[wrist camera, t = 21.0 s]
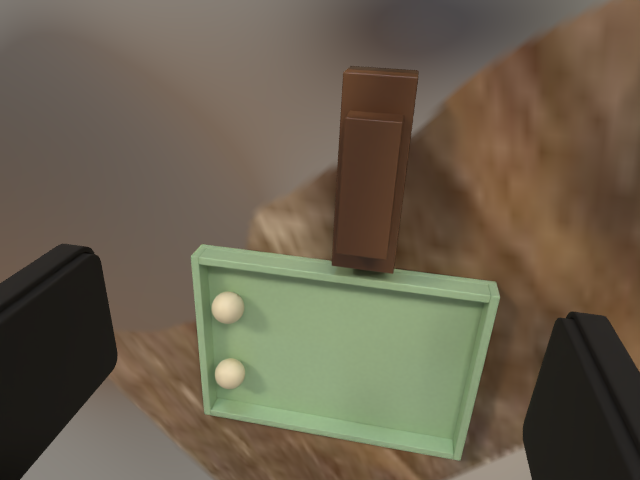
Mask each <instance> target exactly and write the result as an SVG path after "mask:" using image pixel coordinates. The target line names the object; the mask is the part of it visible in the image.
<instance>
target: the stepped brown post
mask: <svg viewBox="0 0 640 480" xmlns="http://www.w3.org/2000/svg"><path fill="white" fill-rule="evenodd" d="M417 83H418V71H417V70H402V69H389V68H372V67H359V66H350V68H348V69H347V70H346V71H345V72H344V73H343V86H342V102H341V120H340V136H339V137H340V138H339V151H338V168H337V184H336V200H335V217H334V233H333V249H332V266H337V267H344V268H352V269H360V270H368V271H375V272H383V273H391V274H393V273H394V265H395V257H396V249H397V241H398V233H399V225H400V218H401V210H402V202H403V194H404V186H405V178H406V170H407V162H408V154H409V147H410V139H411V131H412V123H413V115H414V107H415V99H416V91H417Z"/></svg>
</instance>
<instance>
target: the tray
mask: <svg viewBox="0 0 640 480" xmlns="http://www.w3.org/2000/svg"><path fill="white" fill-rule="evenodd" d="M191 264H192V276H193V287H194V299H195V310H196V323H197V334H198V346H199V357H200V369H201V381H202V392H203V404H204V414H207V415H213V416H218V417H223V418H229V419H234V420H240V421H245V422H251V423H256V424H262V425H267V426H273V427H278V428H284V429H289V430H294V431H300V432H305V433H311V434H316V435H322V436H327V437H333V438H338V439H344V440H349V441H355V442H360V443H365V444H371V445H376V446H382V447H387V448H393V449H398V450H404V451H409V452H415V453H420V454H426V455H431V456H436V457H442V458H447V459H453V460H458V461H460V460H461V456H462V452H463V448H464V444H465V440H466V436H467V432H468V427H469V423H470V419H471V415H472V411H473V407H474V403H475V399H476V395H477V390H478V386H479V382H480V378H481V374H482V370H483V366H484V362H485V358H486V353H487V349H488V345H489V341H490V337H491V333H492V329H493V325H494V321H495V316H496V312H497V308H498V304H499V300H500V295H499V291H498V288H497V284H496V282H494V281H486V280H478V279H470V278H462V277H454V276H447V275H439V274H431V273H423V272H415V271H407V270H400V269H394V273H393V274H391V273H383V272H375V271H368V270H360V269H352V268H344V267H337V266H332V261H329V260H321V259H313V258H306V257H298V256H290V255H282V254H274V253H266V252H259V251H251V250H243V249H235V248H227V247H219V246H212V245H203V244H202V245H201V246H200V247H199V248H198V249H197V250H196V251H195V252H194V253H193V254H192V256H191ZM227 291H229V292H234V293H236V294H238V295H239V296H240V297H241V298H242V300H243V302H244V313H243V315H242V317H241V318H240V319H239V320H238V321H236V322H234V323H231V324H224V323H221V322H219V321H218V320H216V319H215V317H214V316H213V313H212V303H213V301H214V299H215V298H216V296H218V295H219V294H220V293H223V292H227ZM228 358H234V359H237V360H239V361H240V362H241V363H242V364H243V366H244V368H245V378H244V380H243V382H242V383H241V384H240V385H239V386H238V387H236V388H234V389H225V388H222V387H221V386H220V385H219V384H218V383H217V381H216V379H215V370H216V367H217V366H218V364H219V363H220V362H221V361H223V360H225V359H228Z"/></svg>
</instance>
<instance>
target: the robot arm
mask: <svg viewBox="0 0 640 480" xmlns="http://www.w3.org/2000/svg"><path fill="white" fill-rule="evenodd" d="M116 362H117V348H116V343H115V337H114V332H113V326H112V320H111V315H110V309H109V304H108V298H107V293H106V287H105V282H104V277H103V271H102V265H101V261H100V258H99V257H98V256H97V255H95V254H94V252H93V250H92V249H91V248H89V247H84V246H77V245H69V244H61V245H58V246H56V247H55V248H53V249H52V250H50V251H49V252H47V253H46V254H44V255H43V256H41V257H40V258H38V259H37V260H35V261H34V262H32V263H31V264H29V265H28V266H26V267H25V268H23V269H22V270H20V271H19V272H17V273H15V274H14V275H12V276H11V277H9V278H8V279H6V280H5V281H3V282H2V283H0V480H20V479H21V478H22V477H23V475H24V474H25V473H26V472H27V471H28V469H29V468H30V467H31V466H32V465H33V464H34V462H35V461H36V460H37V459H38V458H39V456H40V455H41V454H42V453H43V452H44V451H45V449H46V448H47V447H48V446H49V445H50V444H51V442H52V441H53V440H54V439H55V438H56V436H57V435H58V434H59V433H60V432H61V431H62V429H63V428H64V427H65V426H66V425H67V424H68V422H69V421H70V420H71V419H72V418H73V416H74V415H75V414H76V413H77V412H78V410H79V409H80V408H81V407H82V406H83V405H84V403H85V402H86V401H87V400H88V399H89V398H90V396H91V395H92V394H93V393H94V392H95V390H96V389H97V388H98V387H99V386H100V385H101V384H102V382H103V381H104V380H105V379H106V378H107V376H108V375H109V374H110V373H111V372H112V370H113V369H114V367H115V365H116ZM523 442H524V447H525V451H526V455H527V460H528V464H529V468H530V473H531V477H532V480H640V373H639V371H638V369H637V367H636V366H635V364H634V362H633V361H632V359H631V357H630V356H629V354H628V352H627V351H626V349H625V347H624V345H623V344H622V342H621V340H620V339H619V337H618V335H617V334H616V332H615V330H614V329H613V327H612V325H611V323H610V322H609V320H608V319H607V318H606V317H605V316H602V315H594V314H587V313H579V312H570V313H569V314H568V315H567V317H566V318H558V319H557V320H556V321H555V324H554V327H553V330H552V333H551V337H550V340H549V343H548V346H547V349H546V353H545V356H544V359H543V362H542V366H541V369H540V372H539V375H538V378H537V382H536V385H535V388H534V391H533V395H532V398H531V401H530V404H529V407H528V411H527V414H526V417H525V420H524V424H523Z"/></svg>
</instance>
